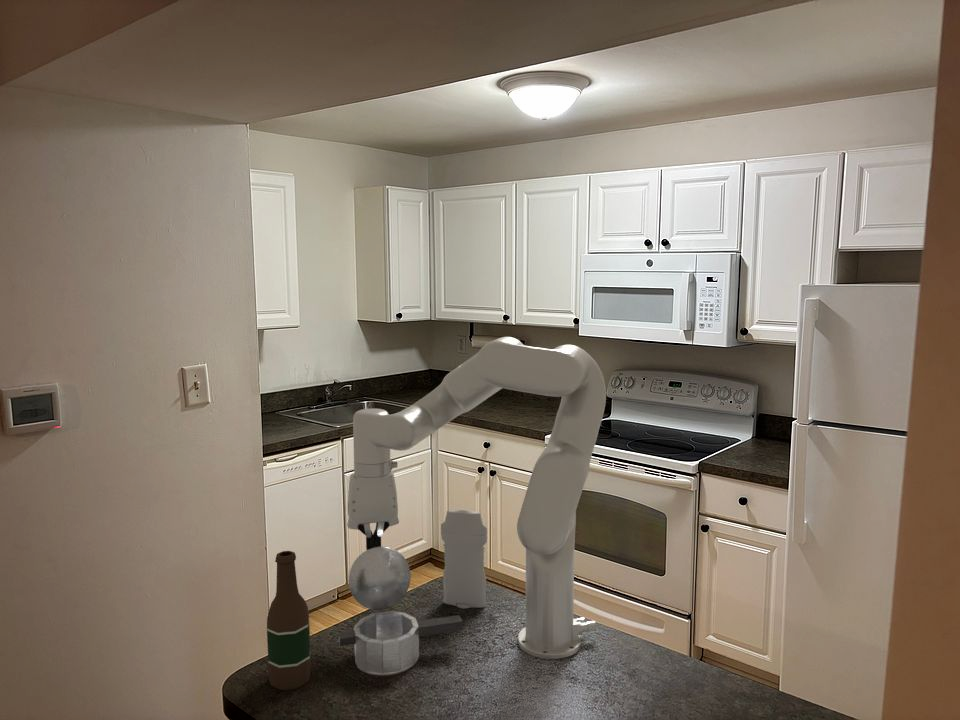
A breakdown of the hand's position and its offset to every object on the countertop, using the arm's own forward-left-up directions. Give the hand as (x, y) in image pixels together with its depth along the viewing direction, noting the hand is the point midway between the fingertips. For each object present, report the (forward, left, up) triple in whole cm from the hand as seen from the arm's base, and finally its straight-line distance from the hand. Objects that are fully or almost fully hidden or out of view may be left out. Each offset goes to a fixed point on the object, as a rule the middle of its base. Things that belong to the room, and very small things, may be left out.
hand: (373, 552), depth 146 cm
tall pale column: (-20, -2, -16) cm, 25 cm away
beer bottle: (+18, +17, -16) cm, 29 cm away
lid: (0, +8, -2) cm, 8 cm away
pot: (-3, +15, -15) cm, 21 cm away
